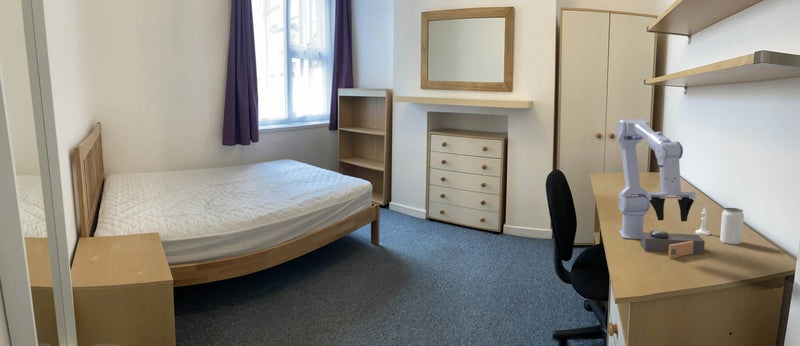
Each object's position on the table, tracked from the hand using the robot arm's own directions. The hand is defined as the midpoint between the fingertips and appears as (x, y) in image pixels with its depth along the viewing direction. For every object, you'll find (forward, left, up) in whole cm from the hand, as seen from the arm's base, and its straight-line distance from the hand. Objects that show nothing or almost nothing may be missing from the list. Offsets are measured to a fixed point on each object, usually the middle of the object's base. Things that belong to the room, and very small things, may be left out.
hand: (672, 220), depth 161 cm
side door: (-3, +4, -13) cm, 13 cm away
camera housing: (-10, +3, -13) cm, 17 cm away
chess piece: (-32, +19, -13) cm, 39 cm away
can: (-22, +25, -13) cm, 35 cm away
